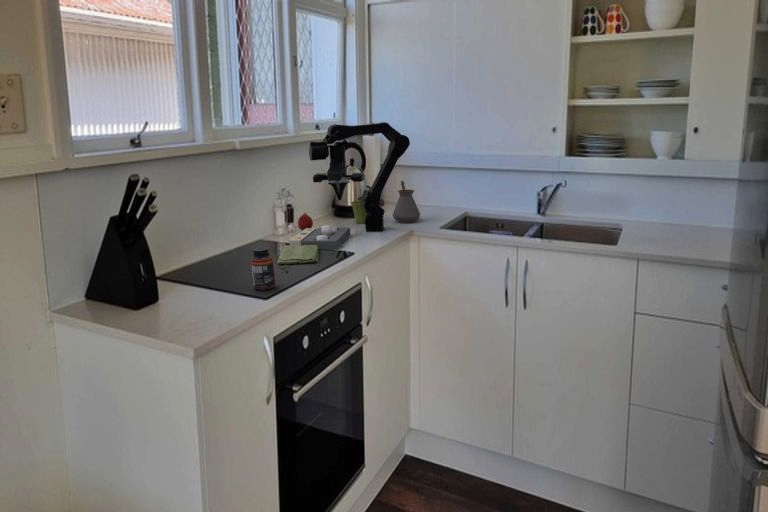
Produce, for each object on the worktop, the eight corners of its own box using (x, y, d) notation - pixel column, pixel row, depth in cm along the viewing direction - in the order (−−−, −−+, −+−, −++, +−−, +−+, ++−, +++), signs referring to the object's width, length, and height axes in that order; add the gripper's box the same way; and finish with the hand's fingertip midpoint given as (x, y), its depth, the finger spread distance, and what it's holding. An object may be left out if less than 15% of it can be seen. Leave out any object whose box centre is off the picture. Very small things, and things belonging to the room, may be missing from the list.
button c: (329, 244, 213) (328, 234, 212) (326, 247, 209) (326, 237, 208) (318, 244, 213) (318, 234, 212) (315, 247, 209) (314, 237, 208)
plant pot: (373, 224, 245) (373, 203, 243) (350, 225, 246) (349, 204, 243) (374, 219, 254) (373, 199, 252) (352, 220, 255) (351, 200, 252)
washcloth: (276, 267, 189) (275, 257, 188) (282, 253, 206) (282, 244, 205) (317, 265, 190) (317, 255, 189) (321, 251, 207) (320, 242, 206)
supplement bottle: (264, 283, 171) (261, 244, 168) (279, 286, 168) (276, 247, 165) (249, 289, 166) (245, 249, 163) (264, 292, 163) (260, 252, 160)
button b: (334, 234, 219) (333, 225, 218) (331, 237, 215) (330, 227, 214) (323, 234, 219) (322, 225, 218) (320, 237, 216) (319, 227, 215)
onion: (310, 234, 232) (309, 213, 230) (296, 234, 233) (295, 213, 231) (315, 230, 237) (313, 211, 235) (301, 230, 238) (300, 211, 236)
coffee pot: (421, 223, 244) (421, 186, 240) (393, 224, 243) (392, 188, 239) (416, 213, 264) (415, 179, 261) (390, 214, 264) (389, 181, 260)
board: (350, 235, 227) (350, 227, 226) (336, 249, 206) (336, 241, 205) (319, 235, 229) (319, 227, 228) (302, 249, 208) (302, 241, 207)
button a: (338, 236, 226) (338, 226, 225) (336, 238, 222) (335, 228, 221) (328, 235, 227) (328, 226, 226) (325, 238, 223) (325, 228, 222)
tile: (316, 235, 228) (316, 227, 228) (301, 248, 209) (300, 239, 209) (306, 235, 229) (305, 227, 228) (290, 248, 210) (289, 239, 209)
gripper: (307, 161, 217) (310, 204, 221) (357, 160, 214) (359, 203, 218) (315, 158, 228) (318, 199, 232) (363, 157, 225) (365, 198, 229)
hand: (340, 200), depth 227 cm, fingers closed
